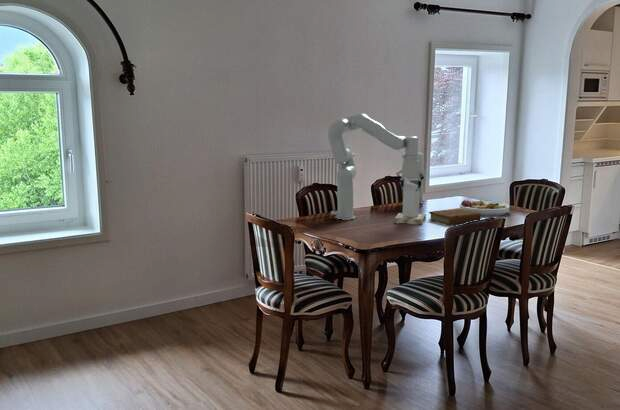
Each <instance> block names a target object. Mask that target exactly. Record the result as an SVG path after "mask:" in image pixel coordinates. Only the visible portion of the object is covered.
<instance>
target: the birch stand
mask: <svg viewBox="0 0 620 410" xmlns="http://www.w3.org/2000/svg"><path fill="white" fill-rule="evenodd" d="M402 214H403V212H401V213H400V212H399V213H398V214H397V215H395V217H394V224H399V223H407V224H406V225H419V224H422V225H424V223H425V221H426V218H427V217H426V216H427V214H424V213H419V216H416V217H413V218H412V217H406V216H402ZM423 222H424V223H423Z"/></svg>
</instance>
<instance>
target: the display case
mask: <svg viewBox="0 0 620 410" xmlns="http://www.w3.org/2000/svg"><path fill="white" fill-rule="evenodd" d="M404 155H405V152H403V153H402V156H404ZM403 160H405V159H404V158H402V161H403ZM418 160H419V163H420V170H421V171H422V172H424V173H425V171H424V169H425V168H424V166H425V154H424V153H422V152H418ZM422 176H423V174H421V173H420V178H421V177H422ZM403 180H404V187H403V190H404V189H405V187H406V185H407V184H415V185H418V181H419V180H418V179H417V178H404V179H403ZM419 190H420V200H419V208H420V207H421V208H422V207H424V178H423V179H422V180H421V186H420V188H419ZM401 205H402V206H403V200H402V201H401Z"/></svg>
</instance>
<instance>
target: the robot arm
mask: <svg viewBox="0 0 620 410" xmlns="http://www.w3.org/2000/svg"><path fill="white" fill-rule="evenodd" d="M355 130H360V131H362V132H364V133H366V135H367V134H368V135H369V136H371V137H373V138H374V139H375V140H377V141H379V142H381V143H382V144H383V145H385V146H387V147H389V148H391V149H393V150H396V151H398V150H402V149H404V153H405V155H404V156H403V155H402V157H401V158H402V167H401V168H402V169H401V170H399V171H397V172H396V173H395V174H396V176H397V178H398V179H399V181H400V187H401V188H404V178H417V179H418V180H419V181H418V188H420V186H421V180H422V179H423V180H424V179H425V178H426V177H425V176H426V175H427V173H426V172H425V171H424V172H422V171H421V170H420V163H419V160H418V153H419V137H418V136H403V135H396V134H394V133H392V132H390V131H389V130H387V129H386V128H385V127H384V126H383V124H381V123H380V122H378V121H375V120H374V119H372V118H370V117H369V116H368V115H367V114H366V113H361V112H360V113H356V114H354V115H350V116H347V117H342V118H338V119H335V120H334V121H333V122H331V124H330V126H329V127H328V130H327V136H328V141H329V145H330V149H331V153H332V154H331V155H332V157H333V160H334V163H335V164H337V165H338V167H339V169H338V170H337V172H336V185H337V191H336V192H337V210H335V211H334V210H331V211H330V215H332V216H334V215H335V216H334V219H335V218H337V219H336V220H338V219H342V220H341V221H352V220H351V219H353V220H355V218H356V219H357V216H356V215H354V182H353V181H354V180H353V179H355V177H356V175H357V168H356V165H355V162H354V157H353V154H352V152H351V151H350V149H349V148H347V147H346V144H345V140H344V136H343V134H344V133H347V132H351V131H355ZM403 158H404V159H405V160H403ZM420 173H421V174H423V176H422V177H421V178H420ZM400 174H401V175H400Z"/></svg>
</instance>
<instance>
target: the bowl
mask: <svg viewBox="0 0 620 410" xmlns="http://www.w3.org/2000/svg"><path fill="white" fill-rule="evenodd" d="M459 208H461V209H465V210H469V211H474V212H478V213H480V214H481V217H499V216H503V215H505V214H507V213H508V212H509V211H510V205H509V204H507V203H504V202H498V201H489V200H487V201H485V200H482V199H479V200H471V201H470V200H467V199H466V200H465V199H464V200H463V201H461V202H460V203H459ZM498 215H499V216H498Z"/></svg>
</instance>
